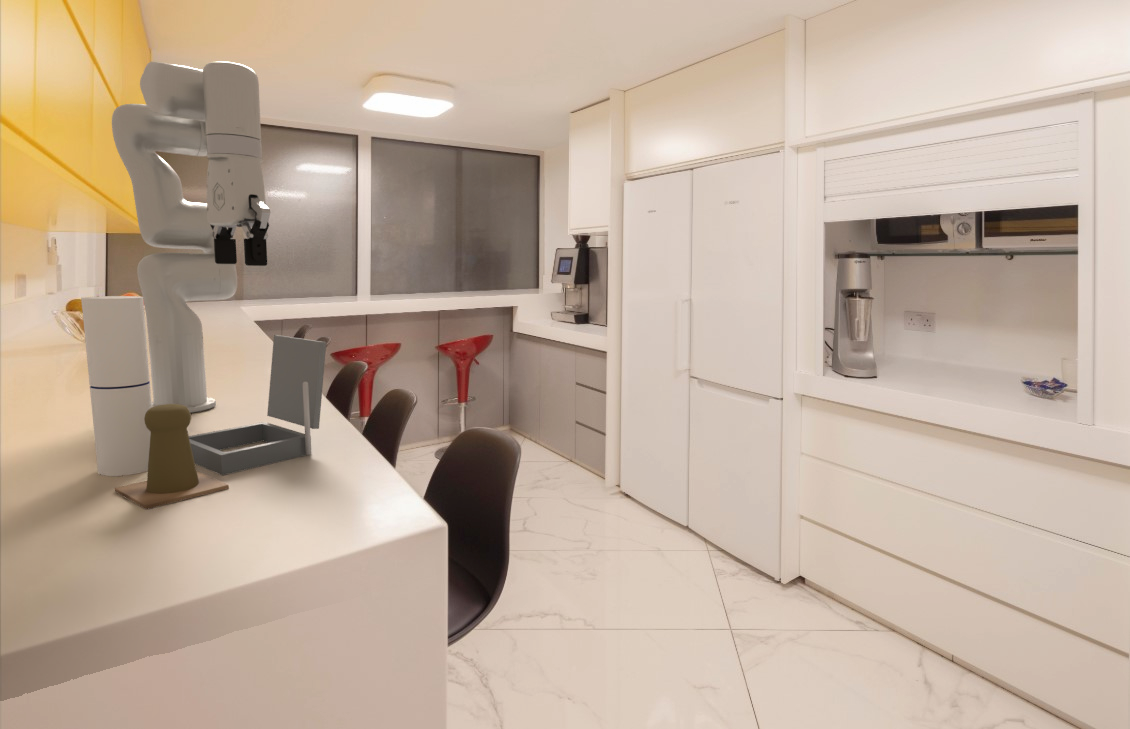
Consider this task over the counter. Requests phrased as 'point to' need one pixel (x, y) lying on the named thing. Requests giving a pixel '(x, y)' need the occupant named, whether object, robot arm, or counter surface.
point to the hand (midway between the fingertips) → (240, 264)
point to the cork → (170, 450)
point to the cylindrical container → (118, 382)
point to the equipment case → (277, 449)
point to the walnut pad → (151, 500)
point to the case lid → (296, 379)
